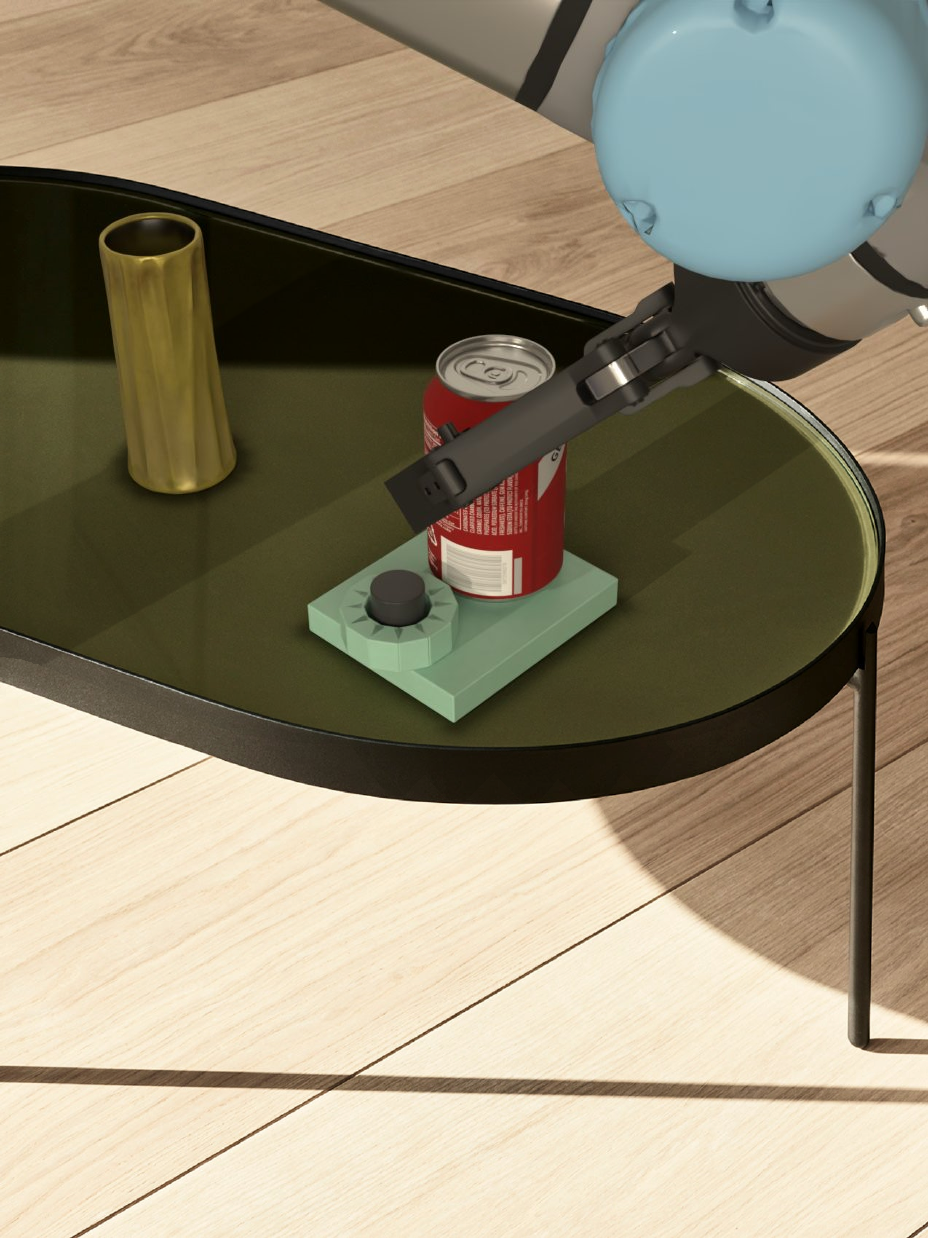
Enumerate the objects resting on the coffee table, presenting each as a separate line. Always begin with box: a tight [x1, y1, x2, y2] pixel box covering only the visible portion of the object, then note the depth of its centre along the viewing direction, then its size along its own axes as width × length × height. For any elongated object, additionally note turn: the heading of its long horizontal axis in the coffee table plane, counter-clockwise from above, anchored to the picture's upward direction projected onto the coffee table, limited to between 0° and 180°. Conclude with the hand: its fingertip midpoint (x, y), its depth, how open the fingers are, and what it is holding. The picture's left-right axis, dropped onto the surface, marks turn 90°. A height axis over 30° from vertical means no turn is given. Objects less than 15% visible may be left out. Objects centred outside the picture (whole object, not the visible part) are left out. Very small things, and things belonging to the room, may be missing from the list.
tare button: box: [370, 570, 426, 628], centre depth 79 cm, size 3×3×2 cm
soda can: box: [422, 334, 568, 603], centre depth 81 cm, size 7×7×12 cm
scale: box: [307, 529, 619, 723], centre depth 83 cm, size 13×10×4 cm
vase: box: [98, 211, 237, 495], centre depth 90 cm, size 6×6×14 cm
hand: (506, 442), depth 79 cm, fingers open, 13 cm apart
